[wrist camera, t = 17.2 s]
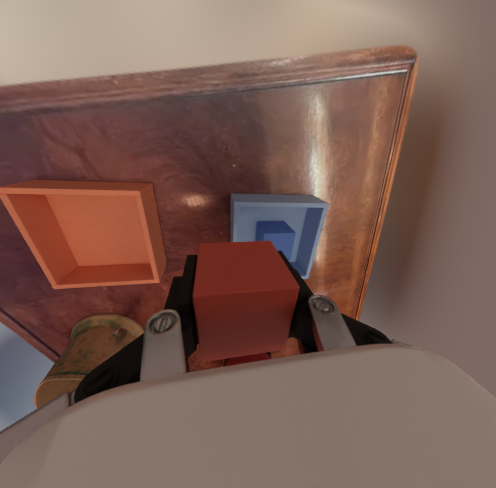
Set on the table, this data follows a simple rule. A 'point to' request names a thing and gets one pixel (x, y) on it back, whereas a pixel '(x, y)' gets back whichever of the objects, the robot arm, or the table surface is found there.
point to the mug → (86, 352)
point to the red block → (242, 299)
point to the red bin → (89, 231)
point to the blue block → (276, 235)
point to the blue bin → (281, 209)
